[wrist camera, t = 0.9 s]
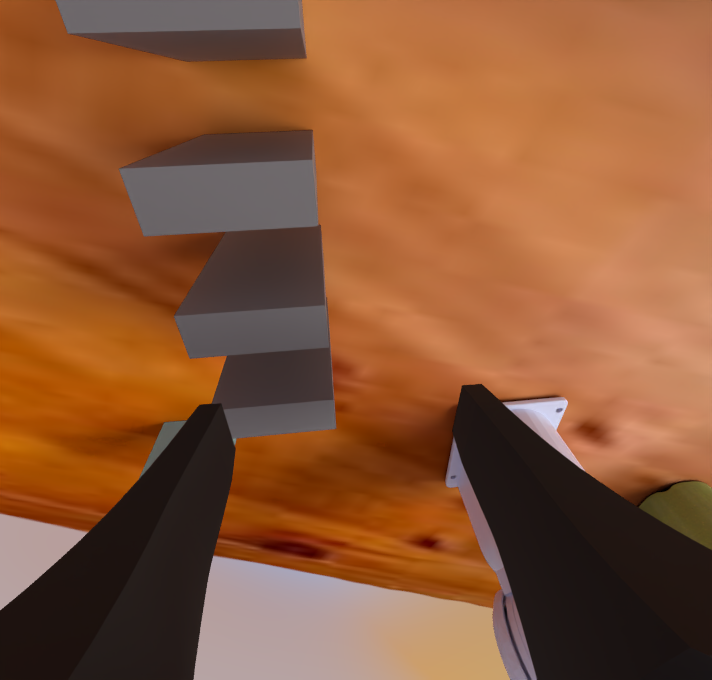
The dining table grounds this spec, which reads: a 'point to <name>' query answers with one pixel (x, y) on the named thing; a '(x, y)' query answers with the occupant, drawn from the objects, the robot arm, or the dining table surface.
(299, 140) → the domino
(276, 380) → the domino
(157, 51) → the domino
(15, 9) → the dining table surface
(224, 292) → the domino
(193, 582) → the robot arm
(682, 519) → the plant pot
